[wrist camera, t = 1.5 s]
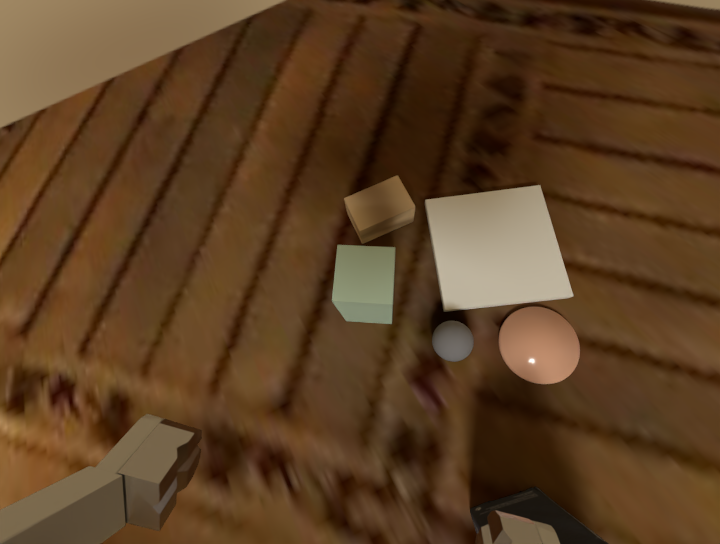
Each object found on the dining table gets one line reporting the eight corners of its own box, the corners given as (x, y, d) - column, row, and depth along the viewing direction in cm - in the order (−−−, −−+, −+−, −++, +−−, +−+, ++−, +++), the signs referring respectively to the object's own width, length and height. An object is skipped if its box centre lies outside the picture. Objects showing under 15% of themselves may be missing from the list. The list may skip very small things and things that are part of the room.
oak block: (396, 192, 38) (397, 175, 35) (413, 222, 37) (415, 206, 34) (347, 214, 38) (343, 198, 34) (362, 244, 37) (359, 231, 33)
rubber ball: (464, 322, 33) (473, 315, 30) (472, 360, 32) (481, 357, 28) (427, 326, 33) (431, 319, 30) (433, 364, 32) (438, 362, 29)
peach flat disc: (563, 304, 33) (567, 302, 32) (585, 379, 31) (589, 379, 30) (490, 312, 33) (492, 310, 33) (506, 387, 31) (509, 387, 31)
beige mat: (536, 189, 37) (540, 185, 36) (569, 297, 33) (573, 295, 32) (424, 203, 37) (425, 199, 36) (443, 311, 33) (445, 310, 33)
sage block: (394, 279, 35) (395, 247, 26) (391, 323, 34) (392, 304, 25) (350, 277, 35) (337, 244, 27) (346, 321, 34) (331, 300, 25)
